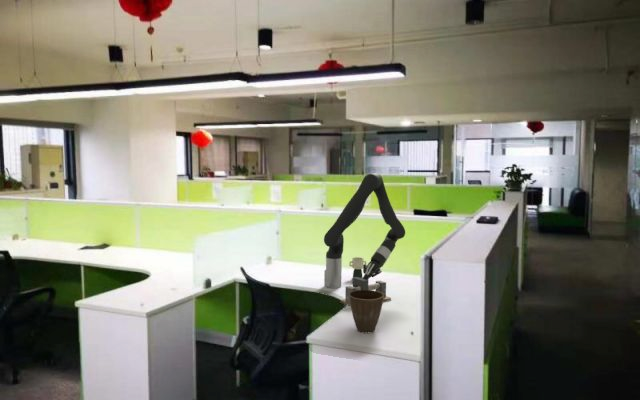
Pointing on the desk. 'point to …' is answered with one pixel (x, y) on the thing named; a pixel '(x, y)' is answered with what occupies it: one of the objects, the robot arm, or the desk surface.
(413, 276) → the desk surface
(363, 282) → the gray notched block
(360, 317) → the plant pot
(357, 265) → the trophy cup
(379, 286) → the pipe stand
